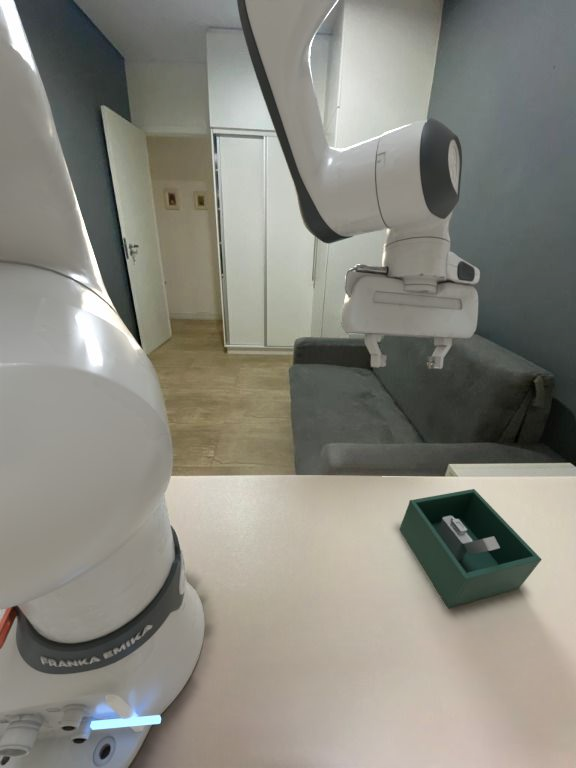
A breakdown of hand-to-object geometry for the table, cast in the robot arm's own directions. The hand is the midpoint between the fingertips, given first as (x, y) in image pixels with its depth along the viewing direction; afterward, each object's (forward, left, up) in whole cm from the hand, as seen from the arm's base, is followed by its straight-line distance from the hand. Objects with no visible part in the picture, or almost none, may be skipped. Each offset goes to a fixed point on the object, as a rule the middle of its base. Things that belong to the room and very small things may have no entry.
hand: (406, 368), depth 45 cm
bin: (+4, -15, -23) cm, 28 cm away
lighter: (+4, -16, -23) cm, 28 cm away
